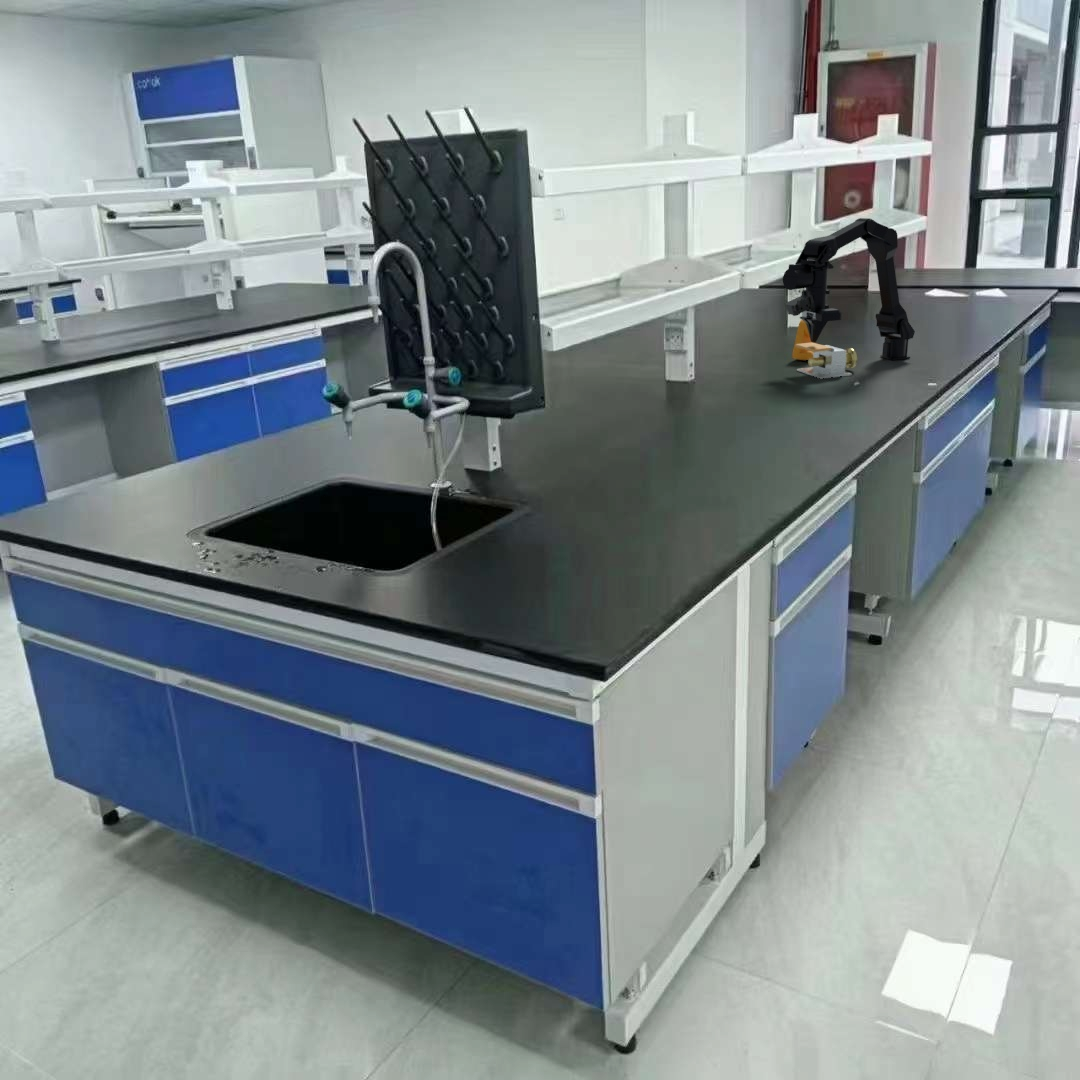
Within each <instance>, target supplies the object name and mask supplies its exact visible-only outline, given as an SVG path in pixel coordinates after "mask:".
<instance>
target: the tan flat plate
mask: <svg viewBox="0 0 1080 1080" xmlns="http://www.w3.org/2000/svg"><path fill="white" fill-rule="evenodd" d="M794 344H795V343H794ZM795 347H798V348H802V349H805V350H808V351H811V352H819V351H831V352H833V351H834V349H833V348H830V347H827V346H824V344H819V343H817V342H816V343H812V342H811V343H802V344H795Z"/></svg>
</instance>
